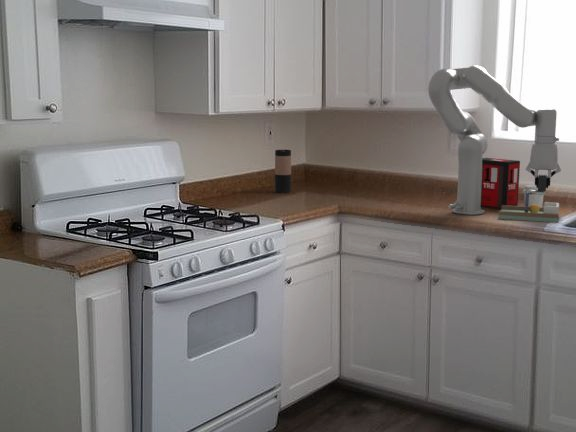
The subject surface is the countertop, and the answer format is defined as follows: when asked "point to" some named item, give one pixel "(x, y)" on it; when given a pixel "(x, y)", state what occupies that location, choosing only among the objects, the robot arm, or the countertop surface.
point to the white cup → (534, 196)
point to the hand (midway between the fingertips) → (542, 187)
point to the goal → (551, 208)
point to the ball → (534, 208)
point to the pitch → (526, 214)
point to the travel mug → (282, 171)
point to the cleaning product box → (499, 182)
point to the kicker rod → (540, 191)
